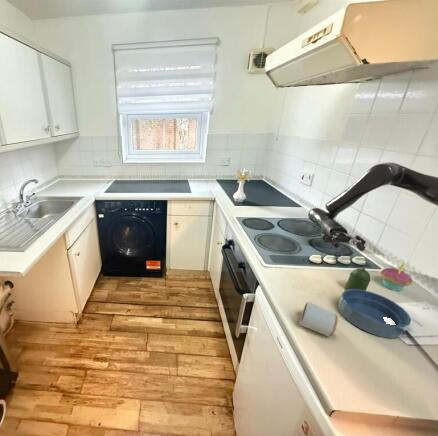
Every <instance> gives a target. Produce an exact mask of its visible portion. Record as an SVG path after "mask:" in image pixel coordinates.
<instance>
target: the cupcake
mask: <svg viewBox="0 0 438 436" xmlns="http://www.w3.org/2000/svg"><path fill="white" fill-rule="evenodd" d="M405 264H406V262H403V263H401V265H400V266H399V268H394V267H387V268H383V269H381V271H380V273H379V275H380V276H381V277H382V280H383V281H382V282H383V283H382V284H383V286H384V287H386V288H387V289H389V290H392V291H396V292H399V291H401V290H402V289H403V288H405V287H408V286H411V285H412V283H413V279H412V277H411V275H410V274H408V273H407V272H405V271H403V268H404V266H405Z"/></svg>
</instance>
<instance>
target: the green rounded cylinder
mask: <svg viewBox="0 0 438 436" xmlns="http://www.w3.org/2000/svg"><path fill="white" fill-rule="evenodd" d="M370 282H371V274H370V273H369V271H368V270H366V268H364V267H362V268H355V269H353V271H352V272H350V274H349V277H348V279H347V281H346V284H345V286H344V289H345V290H348V289H360V290H366V291H367V290H368V287H369V285H370ZM345 290H344V291H345Z"/></svg>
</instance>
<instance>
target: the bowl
mask: <svg viewBox="0 0 438 436" xmlns="http://www.w3.org/2000/svg"><path fill="white" fill-rule="evenodd" d="M337 309H338V311H339V312H340V314H341V315H342V317H343V318H345V319H346V320H347V321H348V322H349V323H351V324H352V325H354V326H355V327H357V328H359V329H361V330H363V331H364V332H367V333H369V334H373V335H375V336H378V337H382V338H387V339H399V338H400V337H402V336H404V335H405V333H406V332H407V330H408V328H409V326H410V324H411V322H412V318H411V316H410V313H408V312H407V311H406V310H405V309H404V307H402V306H401V305H399V304H398V303H397V302H395V301H393V300H391V299H390V298H388V297H385V296H383V295H381V294H378V293H376V292H373V291H369V290H367V289H366V290H360V289H348V290H344V291H343V292H342V293H341V295H340V298H339V300H338V303H337ZM383 317H387V318H391V319H392V320H393V321H394V322H395V324H396V325H390V324H386V322H385V321H384V319H383Z"/></svg>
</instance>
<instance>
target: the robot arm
mask: <svg viewBox="0 0 438 436" xmlns="http://www.w3.org/2000/svg"><path fill="white" fill-rule="evenodd" d="M384 186H391V187H392V186H393V187H395V188H400V189H403V190H406V191H409V192H411V193H413V194H415V195H417V196H418V197H420V198H421V199H422V200H425V201H426V202H428V203H429V204H432V205H434V206H437V207H438V176H434V175H429V174H426V173H421V172H419V171H417V170H413V169H411V168H408V167H407V166H404V165H402V164H399V163H396V162H382V163H377V164H375V165H373V166H371V167H370V168H369V169H368V170H367V171H366V172H365V173H364V174H363V175H362V176H361V177H360V178H358V179H357V180H356V181H355V182H354V183H352V185H350V186H349V187H348V188H346V189H345V190H344V191H342V192H340V193H339V194H338V195H336V196H335V197H333V198H332V199H330V200H329V201H328V202H326V203H325V207H324V208H325V210H324V209H322V208H321V207H313V208H311V209H310V210H309V211H308V213H307V217H308V219H309V220H310V221H311V222H312V223H314V224H315V225H316V226H317V227H318V228H319V229H320V230H321V234H320V238H321V240H322V241H323V243H326V244H327V243H329V244H331V245H332V246H333V247H334V248H335V249H339V246H340V243H342V244H346V245H349V246H354V247H356V248H357V249H358V251H360V252H364V251H365V250H366V246H365V245H366V243H367V241H366V240H365V239H364V238H363V237H361V236H360V235H358V234H356V235H355V236H352V235H351V234H349V232H348V230H347V229H346V228H345V227H344V226H343V225H342V224H341V223H340V222H339V221H337V220H336V219H335V218H336V217H337V216H338V215H340V213H342V212H344V211H345V210H347V209H348V208H350V207H352V206H353V205H354V204H355V203H357V202H358V201H359V200H360V199H361V198H363V196H365V195H366V194H368V193H370V192H372V191H374V190H376V189H378V188H381V187H384Z"/></svg>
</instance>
